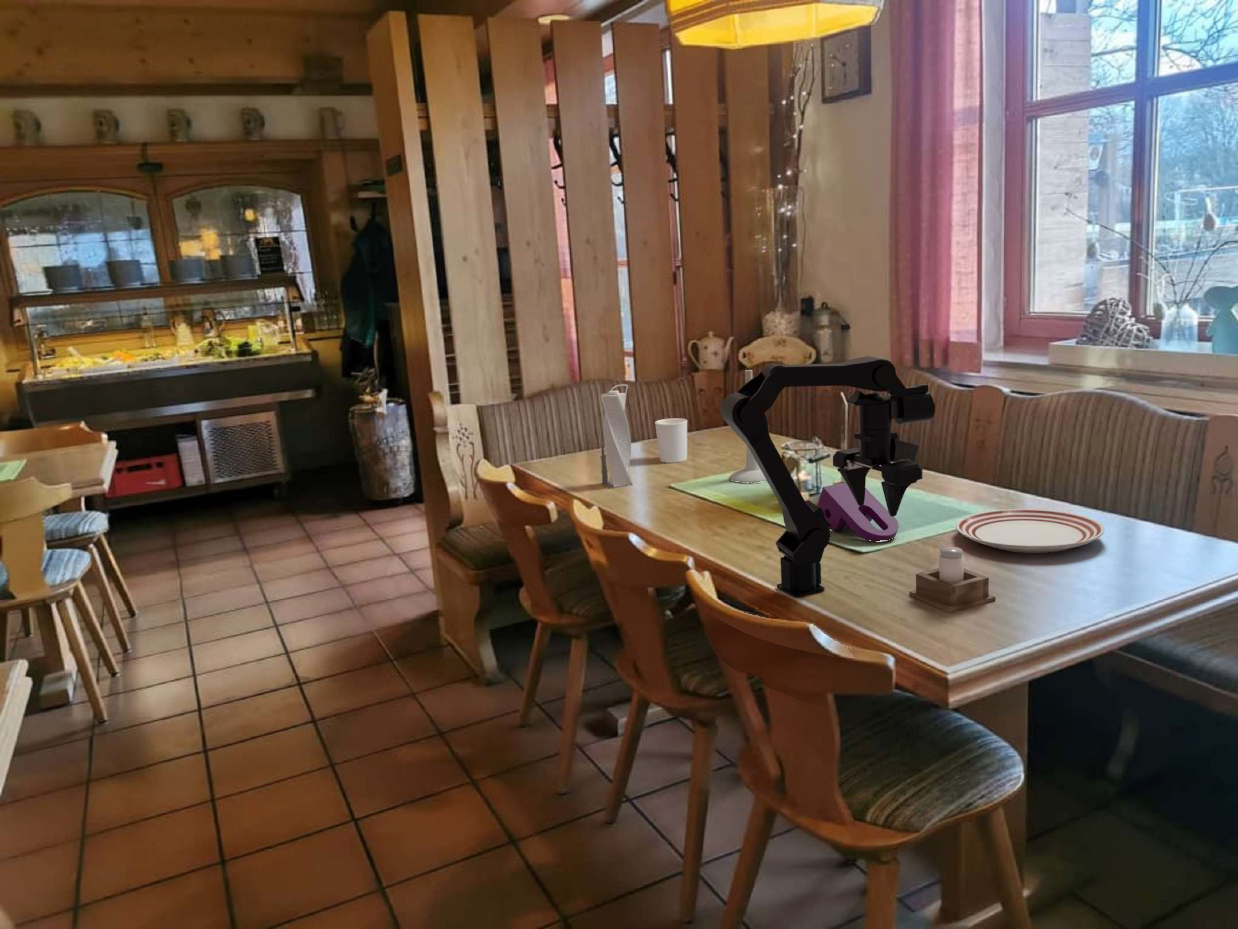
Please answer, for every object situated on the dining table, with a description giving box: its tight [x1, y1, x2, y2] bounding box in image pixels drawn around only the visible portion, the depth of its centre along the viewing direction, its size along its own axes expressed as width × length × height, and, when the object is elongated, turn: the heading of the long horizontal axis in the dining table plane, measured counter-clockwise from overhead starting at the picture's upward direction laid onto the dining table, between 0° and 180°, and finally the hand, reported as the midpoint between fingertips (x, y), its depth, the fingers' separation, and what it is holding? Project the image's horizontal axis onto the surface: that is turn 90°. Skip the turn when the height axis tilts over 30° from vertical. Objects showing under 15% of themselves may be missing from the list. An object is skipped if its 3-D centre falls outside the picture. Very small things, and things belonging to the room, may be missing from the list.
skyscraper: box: [600, 383, 634, 489], centre depth 258 cm, size 8×8×28 cm
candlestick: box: [729, 368, 767, 483], centre depth 254 cm, size 13×13×30 cm
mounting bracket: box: [817, 481, 900, 542], centre depth 204 cm, size 9×8×18 cm
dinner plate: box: [955, 508, 1105, 554], centre depth 190 cm, size 28×27×3 cm
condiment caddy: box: [908, 567, 997, 613], centre depth 163 cm, size 10×10×4 cm
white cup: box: [654, 417, 688, 464], centre depth 285 cm, size 10×10×12 cm
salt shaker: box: [938, 546, 965, 584], centre depth 162 cm, size 4×4×8 cm
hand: (876, 510), depth 173 cm, fingers open, 9 cm apart
